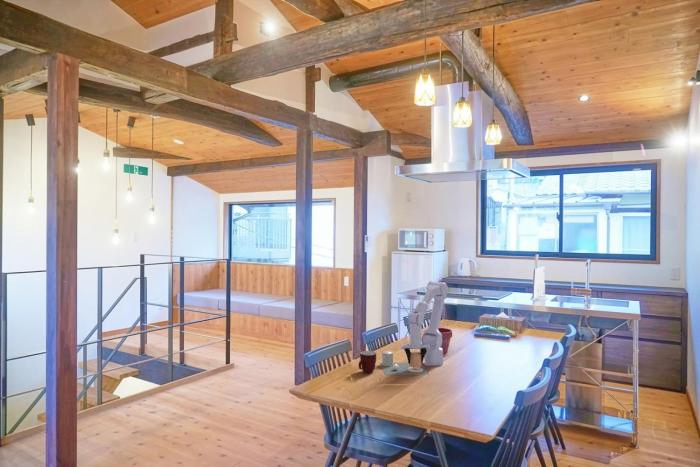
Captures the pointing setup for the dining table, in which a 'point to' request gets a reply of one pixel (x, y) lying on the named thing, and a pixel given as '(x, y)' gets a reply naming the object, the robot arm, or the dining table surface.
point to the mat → (402, 370)
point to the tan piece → (415, 359)
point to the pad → (415, 369)
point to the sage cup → (387, 358)
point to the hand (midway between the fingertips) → (415, 363)
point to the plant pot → (445, 338)
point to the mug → (367, 361)
